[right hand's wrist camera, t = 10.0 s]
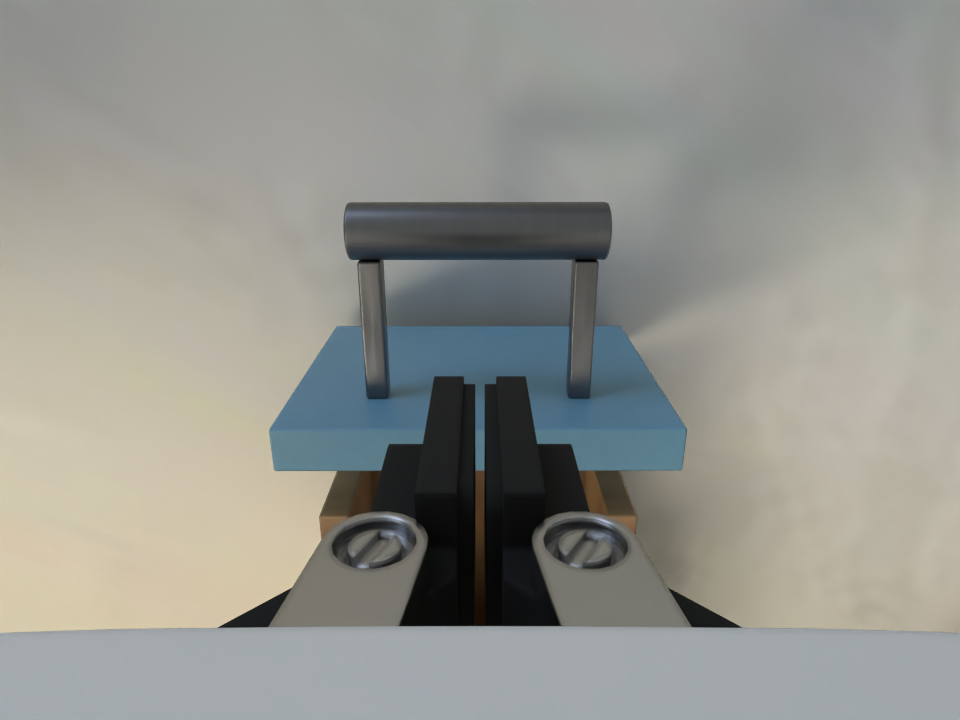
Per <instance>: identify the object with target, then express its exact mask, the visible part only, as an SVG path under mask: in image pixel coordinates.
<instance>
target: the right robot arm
mask: <svg viewBox="0 0 960 720" xmlns="http://www.w3.org/2000/svg"><path fill="white" fill-rule="evenodd" d="M475 540H476V453H475V384H464V376H434V381H433V387H432V392H431V398H430V404H429V410H428V416H427V422H426V428H425V434H424V440H423V444H389V445H388V448H387V451H386V455H385V459H384V462H383V466H382V470H381V474H380V477H379V481H378V485H377V488H376V492H375V496H374V499H373V503H372V507H371V510H370V512H369V513H363V514H358V515H355V516H353V517H350V518H347V519H345V520H343V521H341V522H339V523H338V524H336V525H335V526H333V527H332V528H331V529H330V530H329V531H328V532H327V533H326V534H325V536H324V537H323V538H322V540H321V542H320V543H319V545H318V546H317V548H316V550H315V551H314V553H313V555H312V556H311V558H310V560H309V561H308V563H307V564H306V566H305V568H304V569H303V571H302V573H301V574H300V576H299V577H298V579H297V581H296V582H295V584H294V586H293V587H292V588H291V589H289V590H287V591H285V592H283V593H281V594H280V595H278V596H276V597H274V598H272V599H270V600H268V601H266V602H265V603H263V604H261V605H259V606H257V607H255V608H253V609H252V610H250V611H248V612H246V613H244V614H242V615H240V616H238V617H237V618H235V619H233V620H231V621H229V622H227V623H225V624H224V625H222V626H220V627H218V628H167V629H105V630H74V631H43V632H13V633H0V720H960V633H948V632H920V631H885V630H850V629H811V628H742V627H740V626H738V625H736V624H735V623H733V622H731V621H729V620H727V619H725V618H723V617H722V616H720V615H718V614H716V613H714V612H712V611H710V610H708V609H707V608H705V607H703V606H701V605H699V604H697V603H695V602H694V601H692V600H690V599H688V598H686V597H684V596H682V595H680V594H679V593H677V592H675V591H673V590H671V589H669V588H668V587H667V586H666V584H665V582H664V581H663V579H662V577H661V576H660V574H659V573H658V571H657V569H656V568H655V566H654V564H653V563H652V561H651V560H650V558H649V556H648V555H647V553H646V551H645V550H644V548H643V546H642V545H641V543H640V542H639V540H638V538H637V537H636V536H635V534H634V533H633V532H632V531H631V530H630V529H629V528H628V527H627V526H625V525H624V524H622V523H621V522H619V521H617V520H615V519H613V518H610V517H607V516H605V515H602V514H597V513H591V512H590V510H589V507H588V503H587V499H586V496H585V492H584V488H583V485H582V481H581V477H580V474H579V470H578V466H577V462H576V459H575V455H574V451H573V448H572V445H571V444H537V440H536V434H535V428H534V422H533V416H532V410H531V404H530V398H529V392H528V387H527V381H526V376H496V384H485V453H484V540H485V626H475Z"/></svg>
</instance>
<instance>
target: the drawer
mask: <svg viewBox="0 0 960 720" xmlns="http://www.w3.org/2000/svg"><path fill="white" fill-rule="evenodd" d="M611 236H612V217H611V210H610V206H609V204H608V203H606V202H350V203H348V204H347V205H346V208H345V213H344V241H345V248H346V252H347V255H348V257H349V259H351V260H359V261H358V264H357V267H358V282H359V296H360V311H361V326H337V327H336V328H335V330H334V331H333V333H332V334H331V336H330V337H329V339H328V341H327V342H326V344H325V345H324V347H323V348H322V350H321V351H320V353H319V354H318V356H317V357H316V359H315V360H314V362H313V363H312V365H311V367H310V368H309V370H308V371H307V373H306V374H305V376H304V377H303V379H302V380H301V382H300V383H299V385H298V386H297V388H296V389H295V391H294V393H293V394H292V396H291V397H290V399H289V400H288V402H287V403H286V405H285V406H284V408H283V409H282V411H281V412H280V414H279V415H278V417H277V418H276V420H275V422H274V423H273V425H272V426H271V428H270V429H269V434H270V442H271V449H272V457H273V465H274V470H275V471H337V473H336V475H335V478H334V480H333V483H332V485H331V488H330V491H329V493H328V496H327V498H326V501H325V503H324V506H323V508H322V511H321V513H320V516H319V520H320V530H321V540H322V538H323V537H324V536H325V534H326V533H327V532H328V531H329V530H330V529H331V528H332V527H333V526H335V525H336V524H338V523H339V522H341V521H343V520H345V519H347V518H350V517H353V516H355V515H358V514H363V513H369V512H370V510H371V507H372V503H373V499H374V496H375V492H376V488H377V485H378V481H379V477H380V474H381V470H382V466H383V462H384V459H385V455H386V451H387V448H388V445H389V444H423V440H424V434H425V428H426V422H427V416H428V410H429V404H430V398H431V392H432V387H433V381H434V376H464V384H475V453H476V540H475V626H485V540H484V453H485V384H496V376H526V381H527V387H528V392H529V398H530V404H531V410H532V416H533V422H534V428H535V434H536V440H537V444H571V445H572V448H573V451H574V455H575V459H576V462H577V466H578V470H579V474H580V477H581V481H582V485H583V488H584V492H585V496H586V499H587V503H588V507H589V510H590V512H591V513H597V514H602V515H605V516H607V517H610V518H613V519H615V520H617V521H619V522H621V523H622V524H624V525H625V526H627V527H628V528H629V529H630V530H631V531H632V532H633V533H634V534H635V535H636V525H637V515H636V512H635V509H634V507H633V504H632V502H631V499H630V496H629V494H628V491H627V489H626V486H625V483H624V481H623V478H622V476H621V473H620V470H682V467H683V459H684V451H685V442H686V434H687V429H686V427H685V425H684V424H683V422H682V421H681V419H680V418H679V416H678V415H677V413H676V411H675V410H674V408H673V407H672V405H671V404H670V402H669V401H668V399H667V397H666V396H665V394H664V393H663V391H662V390H661V388H660V387H659V385H658V383H657V382H656V380H655V379H654V377H653V376H652V374H651V373H650V371H649V369H648V368H647V366H646V365H645V363H644V362H643V360H642V359H641V357H640V355H639V354H638V352H637V351H636V349H635V348H634V346H633V345H632V343H631V341H630V340H629V338H628V337H627V335H626V334H625V332H624V331H623V329H622V327H621V326H595V313H596V297H597V281H598V265H599V263H598V261H597V260H604V259H606V258H607V256H608V254H609V250H610V245H611ZM383 260H572V276H571V297H570V318H569V326H387V317H386V298H385V280H384V261H383Z"/></svg>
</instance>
